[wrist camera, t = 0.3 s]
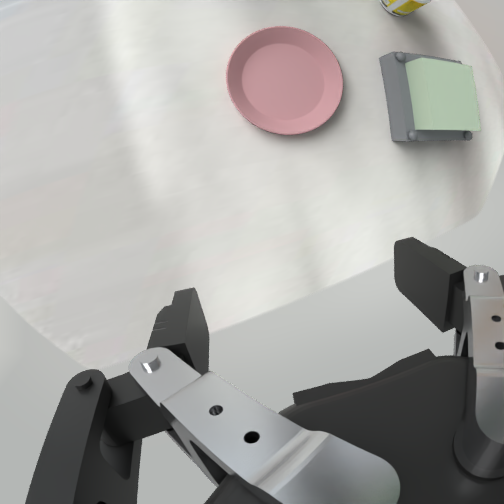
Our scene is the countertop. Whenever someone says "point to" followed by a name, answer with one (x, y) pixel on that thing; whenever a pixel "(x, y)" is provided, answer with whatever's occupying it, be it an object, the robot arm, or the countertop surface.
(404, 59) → the sponge in grey tray
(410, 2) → the supplement bottle
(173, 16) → the countertop surface
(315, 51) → the plate
